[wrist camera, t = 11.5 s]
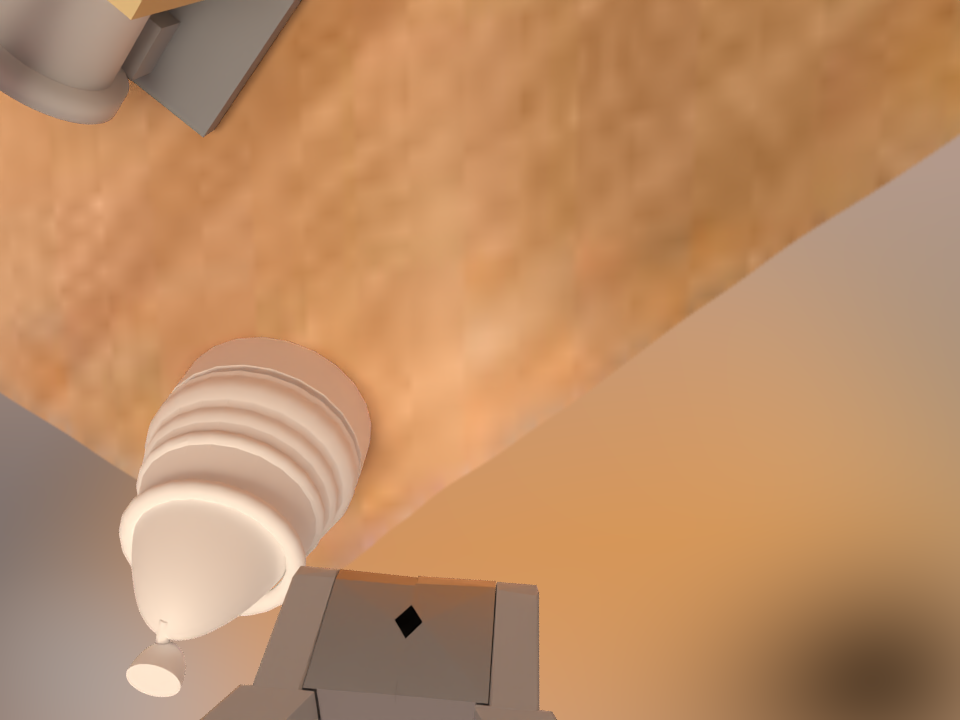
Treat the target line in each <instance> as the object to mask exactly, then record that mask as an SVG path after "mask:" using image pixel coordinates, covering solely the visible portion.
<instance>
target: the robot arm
mask: <svg viewBox="0 0 960 720" xmlns="http://www.w3.org/2000/svg"><path fill="white" fill-rule="evenodd" d="M495 590H496V593H495ZM200 720H557V719H556V717H555V716H554V714H553V712H551V711H543V710H539V592H538V589H537V586H536V585H527V584H514V583H502V582H497V584H496V581H486V580H485V581H484V580H471V579H454V578H439V577H425V576H418V577H408V576H399V575H390V574H380V573H371V572H361V571H352V570H343V569H330V568H320V567H309V566H300V567H299V569H298V570H297V572H296V573H295V574H294V576H293V577H292V580H291V583H290V585H289V588H288V591H287V593H286V596H285V599H284V602H283V604H282V607H281V610H280V613H279V615H278V618H277V621H276V623H275V626H274V629H273V632H272V634H271V637H270V639H269V642H268V645H267V648H266V650H265V653H264V656H263V658H262V661H261V664H260V667H259V669H258V672H257V675H256V677H255V680H254V683H253V685H239V686H238V687H237V688H236V689H235V690H234V691H232V692H231V693H230V694H229V695H228V696H227V697H226V698H224V699H223V700H222V701H221V702H220V703H219V704H217V705H216V706H215V707H214V708H213V709H212V710H211V711H209V712H208V714H206V715H205V716H204V717H203V718H202V719H200Z"/></svg>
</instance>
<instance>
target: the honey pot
mask: <svg viewBox="0 0 960 720" xmlns="http://www.w3.org/2000/svg"><path fill="white" fill-rule="evenodd" d="M370 436H371V421H370V417H369V413H368V409H367V405H366V403H365V401H364V399H363V397H362V396H361V394H360V392H359V391H358V389H357V387H356V385H355V384H354V383H353V382H352V381H351V380H350V379H349V378H348V377H347V376H346V375H345V374H344V372H343V371H342V370H341V369H340V368H339V367H338V366H337V365H335V364H333V363H332V362H330V361H329V360H327V359H326V358H324V357H323V356H321V355H320V354H318V353H317V352H315V351H313V350H310V349H308V348H305V347H303V346H300V345H297V344H295V343H292V342H290V341H285V340H278V339H272V338H266V337H254V338H240V339H234V340H231V341H228V342H225V343H223V344H220V345H217V346H214V347H213V348H211V349H210V350H208V351H207V352H206V353H204V354H203V355H202V356H200V357H199V358H198V359H196V361H195V362H194V363H193V365H192V366H191V367H190V369H189V370H188V371H187V373H186V374H185V375H184V377H183V378H182V379H181V380H180V382H179V383H178V384H177V386H176V387H175V388H174V390H173V391H172V393H171V394H170V395H169V397H168V398H167V400H166V401H165V402H164V403H163V404H162V406H161V407H160V409H159V410H158V412H157V413H156V415H155V416H154V418H153V419H152V421H151V424H150V426H149V430H148V434H147V439H146V444H145V454H144V459H143V463H142V465H141V467H140V470H139V475H138V480H137V485H136V488H137V494H138V495H137V496H136V497H135V498H134V499H133V500H132V501H131V503H130V504H129V506H128V507H127V508H126V510H125V511H124V512H123V515H122V518H121V524H120V528H119V535H120V540H121V546H122V551H123V553H124V555H125V557H126V559H127V560H128V562H129V564H130V566H131V568H132V578H133V586H134V591H135V597H136V601H137V605H138V608H139V611H140V613H141V616H142V617H143V619H144V621H145V622H146V624H147V625H148V627H149V628H150V629H151V630H152V631H153V632H155V633H156V642H155V644H153V645H151V646H150V647H148V648H146V649H145V650H144V651H143V652H142V653H141V654H139V655H138V656H137V658H136V659H135V660H134V661H133V662H132V664H131V665H130V667H129V669H128V670H127V673H126V677H127V680H128V681H129V683H130V684H131V685H132V686H133V687H134V688H136V689H137V690H139V691H141V692H143V693H145V694H148V695H152V696H157V697H168V696H172V695H175V694H176V693H178V692H179V690H180V688H181V686H182V683H183V680H184V675H185V668H186V665H185V657H184V654H183V652H182V650H181V648H180V647H179V646H178V645H176V644H175V643H172V642H170V640H177V641H179V640H188V639H193V638H198V637H200V636H203V635H206V634H208V633H210V632H212V631H214V630H216V629H218V628H220V627H222V626H224V625H225V624H227V623H229V622H230V621H232V620H233V619H235V618H236V617H237V616H249V615H254V614H258V613H263V612H267V611H269V610H271V609H273V608H275V607H277V606H279V605H281V604H283V602H284V599H285V596H286V593H287V591H288V588H289V585H290V583H291V580H292V577H293V576H294V574H295V573H296V572H297V570H298V569H299V567H300V566H306V557H307V556H308V555H309V554H310V553H311V552H312V551H313V550H314V549H315V548H316V546H317V545H318V542H319V540H320V539H321V538H322V537H323V536H324V535H325V534H326V533H327V532H328V531H329V530H330V529H331V528H332V527H333V526H334V525H335V524H336V523H337V521H338V520H339V519H340V518H341V517H342V516H343V515H344V513H345V512H346V510H347V508H348V506H349V504H350V501H351V499H352V497H353V495H354V492H355V487H356V485H357V483H358V478H359V476H360V474H361V470H362V467H363V464H364V461H365V458H366V455H367V451H368V448H369V445H370ZM283 576H284V577H283ZM282 577H283V579H282V581H280V582H279V584H277V582H278V581H279V580H280V579H281V578H282ZM276 584H277V586H276V587H275V588H273V589H271V588H272V587H273V586H274V585H276ZM270 589H271V590H270Z"/></svg>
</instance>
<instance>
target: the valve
mask: <svg viewBox="0 0 960 720" xmlns="http://www.w3.org/2000/svg"><path fill="white" fill-rule="evenodd" d="M300 2H301V0H0V91H2V92H3V93H5V94H7V95H8V96H10V97H11V98H13V99H15V100H17V101H19V102H20V103H22V104H24V105H26V106H28V107H30V108H32V109H34V110H37V111H39V112H41V113H44V114H46V115H49V116H52V117H55V118H58V119H61V120H65V121H69V122H74V123H79V124H100V123H104V122H107V121H109V120H111V119H112V118H113V117H114V116H115V114H116V113H117V111H118V109H119V107H120V106H121V104H122V102H123V101H124V99H125V97H126V95H127V93H128V91H129V82H128V79H130V80H131V81H133V82H134V83H136V84H137V85H138V86H139V87H141V88H142V89H143V90H144V91H146V92H147V93H148V94H149V95H151V96H152V97H153V98H154V99H156V100H157V101H158V102H159V103H161V104H162V105H163V106H164V107H166V108H167V109H168V110H169V111H171V112H172V113H173V114H174V115H176V116H177V117H178V118H180V119H181V120H182V121H183V122H185V123H186V124H187V125H188V126H190V127H191V128H192V129H193V130H195V131H196V132H197V133H198V134H200V135H201V136H202V137H204V136H206V135H207V134H209V133H210V132H212V131H213V130H215V128H216V127H217V125H218V124H219V122H220V121H221V119H222V118H223V116H224V115H225V113H226V112H227V110H228V109H229V107H230V106H231V104H232V103H233V101H234V100H235V98H236V97H237V95H238V94H239V92H240V91H241V89H242V88H243V86H244V85H245V83H246V82H247V80H248V79H249V77H250V76H251V75H252V73H253V72H254V70H255V69H256V67H257V66H258V64H259V63H260V61H261V60H262V58H263V57H264V55H265V54H266V52H267V51H268V49H269V48H270V46H271V45H272V43H273V42H274V40H275V39H276V37H277V36H278V34H279V33H280V31H281V30H282V28H283V27H284V25H285V24H286V22H287V21H288V19H289V18H290V17H291V15H292V14H293V12H294V11H295V9H296V8H297V6H298V5H299V3H300ZM127 78H128V79H127Z"/></svg>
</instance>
